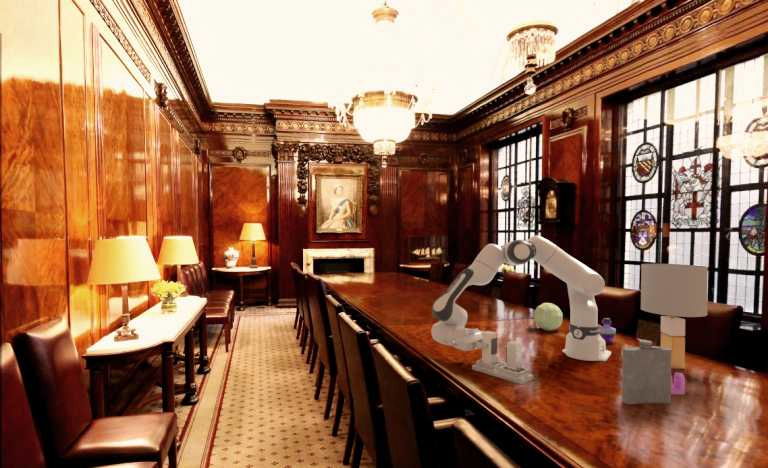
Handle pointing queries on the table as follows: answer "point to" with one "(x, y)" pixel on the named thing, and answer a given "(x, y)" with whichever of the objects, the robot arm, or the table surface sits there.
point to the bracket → (678, 384)
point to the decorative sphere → (548, 316)
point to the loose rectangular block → (489, 347)
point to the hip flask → (646, 374)
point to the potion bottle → (607, 331)
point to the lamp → (674, 301)
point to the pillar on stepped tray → (513, 367)
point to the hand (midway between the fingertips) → (491, 345)
